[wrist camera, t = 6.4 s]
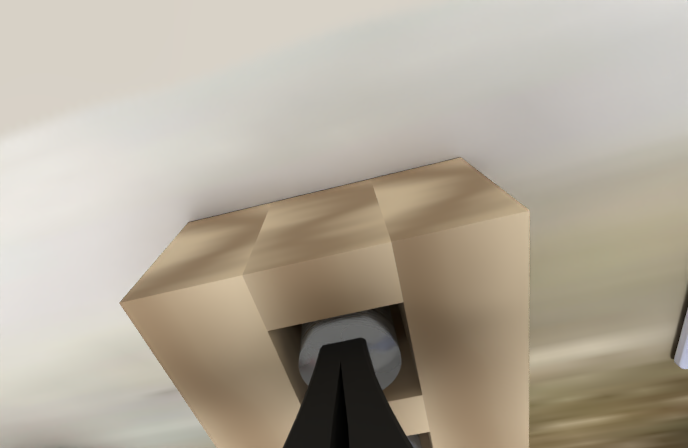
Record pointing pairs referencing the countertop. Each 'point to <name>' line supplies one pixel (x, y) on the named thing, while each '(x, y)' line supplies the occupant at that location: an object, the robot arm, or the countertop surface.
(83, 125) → the countertop surface
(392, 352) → the peg
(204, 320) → the housing
